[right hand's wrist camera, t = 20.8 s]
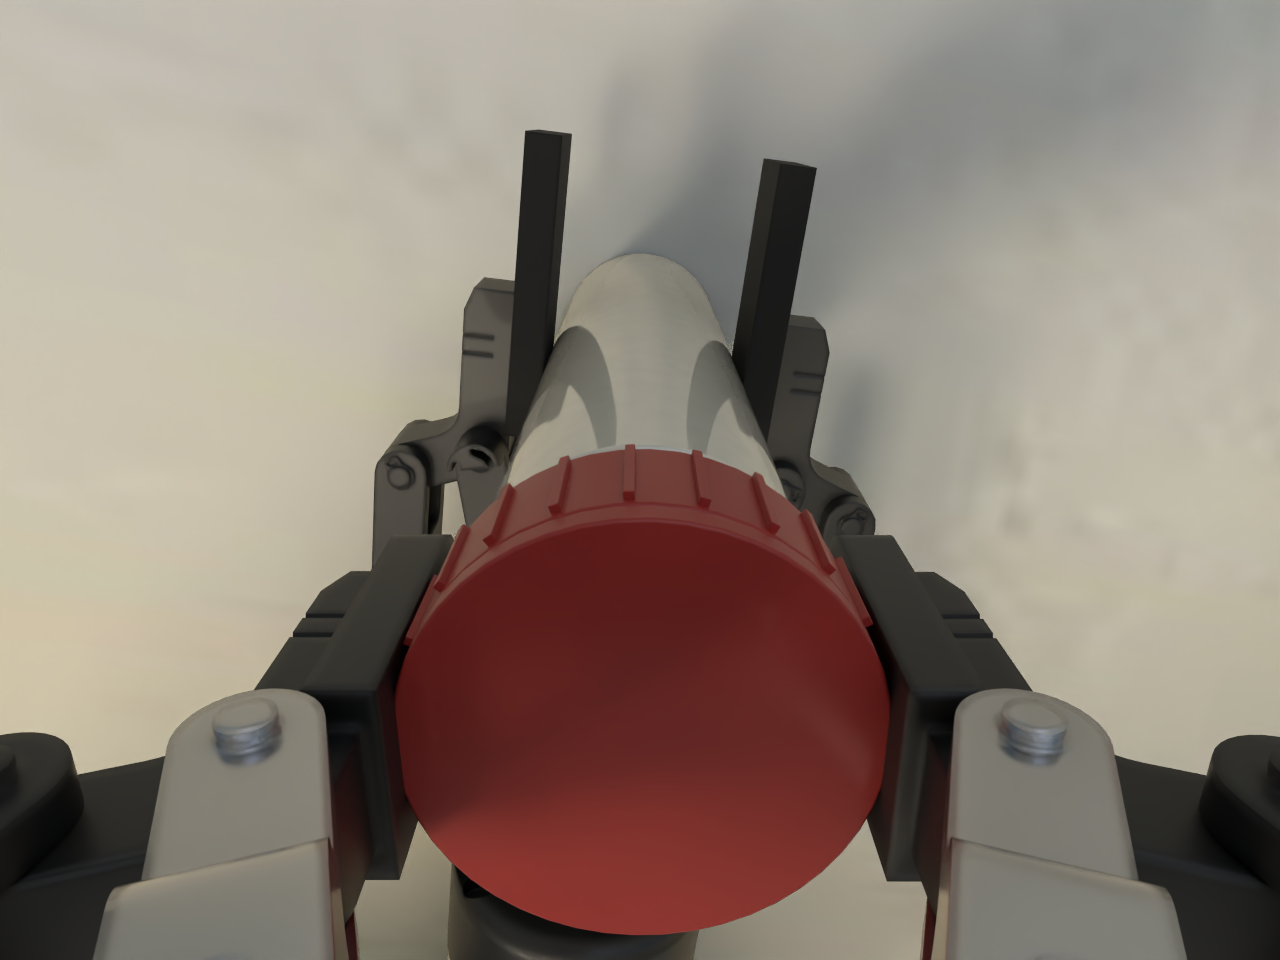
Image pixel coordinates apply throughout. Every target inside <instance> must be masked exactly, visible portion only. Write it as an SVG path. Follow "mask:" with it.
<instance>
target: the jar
mask: <svg viewBox="0 0 1280 960" xmlns="http://www.w3.org/2000/svg"><path fill="white" fill-rule="evenodd" d="M627 444H635V449H656V450H666V451H677V452H683V453H687V454H692V450H693V449H694V450H698V451H702V454H703V457H705V458H709V459H712V460H715V461H718V462H720V463H723V464H726V465H729V466H731V467H734V468H737V469H739V470H741V471H742V472H744V473H746V474H748V475H750V476H752V475H753V474H754V472H757V473H759V474H761V475H762V476H763V477H764V480H765V483H766V485H768V486H769V487H770V488H772V489H773V490H775V491H776V492H778V493H779V494H780V495H782V496H783V497H785V498H786V499H787V500H788V501H789V499H788V496H787V494H786V491H785V489H784V486H783V484H782V481H781V479H780V476H779V474H778V471H777V469H776V466H775V464H774V461H773V459H772V456H771V454H770V451H769V449H768V446H767V444H766V441H765V439H764V436H763V434H762V431H761V429H760V426H759V424H758V421H757V419H756V416H755V414H754V411H753V409H752V406H751V404H750V401H749V399H748V396H747V394H746V391H745V389H744V386H743V384H742V381H741V379H740V376H739V374H738V371H737V369H736V366H735V364H734V361H733V359H732V356H731V354H730V351H729V349H728V346H727V344H726V341H725V339H724V336H723V334H722V331H721V329H720V326H719V324H718V322H717V319H716V317H715V314H714V312H713V309H712V307H711V304H710V302H709V299H708V297H707V295H706V293H705V291H704V289H703V288H702V286H701V285H700V283H699V282H698V281H697V280H696V278H695V277H694V276H693V275H692V274H691V273H690V272H688V271H687V270H686V269H685V268H683V267H682V266H680V265H679V264H677V263H675V262H673V261H671V260H669V259H667V258H664V257H661V256H657V255H652V254H629V255H624V256H620V257H617V258H614V259H611V260H609V261H607V262H605V263H603V264H602V265H600V266H599V267H597V268H596V269H594V270H593V271H592V272H591V273H590V274H589V275H588V276H587V277H586V278H585V279H584V280H583V282H582V283H581V284H580V286H579V287H578V289H577V290H576V292H575V294H574V296H573V298H572V301H571V303H570V306H569V308H568V311H567V313H566V316H565V318H564V321H563V324H562V326H561V329H560V331H559V334H558V336H557V339H556V342H555V344H554V347H553V349H552V352H551V354H550V357H549V359H548V362H547V365H546V367H545V370H544V372H543V375H542V377H541V380H540V382H539V385H538V388H537V390H536V393H535V395H534V398H533V400H532V403H531V406H530V408H529V411H528V413H527V416H526V418H525V421H524V423H523V426H522V429H521V431H520V434H519V436H518V439H517V441H516V444H515V447H514V449H513V452H512V454H511V457H510V459H509V462H508V464H507V467H506V470H505V472H504V475H503V477H502V480H501V482H500V485H499V487H498V490H497V493H496V495H495V498H494V500H493V502H495V501H496V500H497V499H498V498H499V495H500V492H501V490H502V488H503V487H504V486H505V485H507V484H508V483H510V484H511V485H512V486H513V487H514V486H516V485H518V484H519V483H521V482H523V481H524V480H526V479H528V478H529V477H531V476H533V475H534V474H536V473H539V472H541V471H543V470H546V469H548V468H550V467H553V466H555V465H557V464H558V463H559V459H560V458H561V457H564V456H567V455H569V457H570V460H572V459H576V458H579V457H583V456H586V455H590V454H596V453H603V452H609V451H615V450H625V445H627ZM789 502H790V501H789Z"/></svg>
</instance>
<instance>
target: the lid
mask: <svg viewBox="0 0 1280 960" xmlns="http://www.w3.org/2000/svg"><path fill="white" fill-rule="evenodd" d="M870 625H873V622H872V620H871V618H870V616H869V614H868V612H867V609H866V607H865V605H864V603H863V601H862V599H861V597H860V595H859V592H858V590H857V588H856V586H855V584H854V582H853V580H852V577H851V575H850V573H849V571H848V569H847V567H846V565H845V563H844V561H843V558H842V557H839V558H836V559H835V558H834V557H833V555H832V553H831V552H830V550H829V548H828V547H827V545H826V543H825V542H824V540H823V538H822V536H821V534H820V532H819V529H818V527H817V525H816V523H815V520H814V518H813V516H812V514H811V513H810V512H809V511H808V510H807V509H805V510H804V511H803V512H800V511H799V510H798V509H797V508H796V507H794V506H793V505H792V504H791V503H790V502H789V501H788V500H787V499H786V498H785V497H783V496H782V495H780V494H779V493H778V492H776V491H775V490H773V489H772V488H770V487H769V486H768V485H766V483H765V480H764V477H763V476H762V475H761V474H759V473H757V472H754V474H753V475H752V476H750V475H748V474H746V473H744V472H742V471H741V470H739V469H737V468H734V467H731V466H729V465H726V464H723V463H720V462H718V461H715V460H712V459H709V458H705V457H703V454H702V451H698V450H694V449H693V450H692V454H687V453H683V452H677V451H666V450H656V449H635V444H627V445H625V450H615V451H609V452H603V453H596V454H590V455H586V456H583V457H579V458H576V459H572V460H570V457H569V455H567V456H564V457H561V458H560V459H559V463H558V464H557V465H555V466H553V467H550V468H548V469H546V470H543V471H541V472H539V473H536V474H534V475H533V476H531V477H529V478H528V479H526V480H524V481H523V482H521V483H519V484H518V485H516V486H514V487H513V486H512V485H511V484H510V483H508V484H507V485H505V486H504V487H503V488H502V490H501V492H500V495H499V498H498V499H497V500H496V501H495V502H493V503H492V504H491V505H490V506H489V507H488V508H487V509H486V510H485V511H484V512H483V513H482V514H481V515H480V516H479V517H478V518H477V519H476V520H475V521H474V522H473V523H472V524H471V526H470V527H467V526H466V525H464V524H463V525H462V526H461V528H460V529H459V530H458V532H457V535H456V537H455V539H454V541H453V544H452V546H451V548H450V550H449V553H448V555H447V557H446V559H445V561H444V564H443V566H442V568H441V570H440V573H439V575H434V576H433V578H432V580H431V582H430V584H429V587H428V589H427V591H426V593H425V595H424V597H423V600H422V602H421V604H420V606H419V608H418V611H417V613H416V615H415V617H414V619H413V621H412V624H411V626H410V628H409V630H408V632H407V634H406V637H405V640H404V642H403V644H404V645H406V646H409V650H408V652H407V654H406V656H405V659H404V662H403V665H402V668H401V671H400V674H399V677H398V680H397V683H396V689H395V711H396V720H397V729H398V738H399V746H400V755H401V764H402V772H403V781H404V788H405V795H406V797H407V799H408V801H409V803H410V805H411V808H412V810H413V812H414V814H415V816H416V818H417V819H418V821H419V822H420V824H421V825H422V827H423V828H424V830H425V831H426V833H427V834H428V836H429V837H430V838H431V840H432V841H433V842H434V843H435V845H436V846H437V847H438V848H439V849H440V850H441V851H442V852H443V854H444V855H445V856H446V857H447V858H448V859H449V860H450V861H451V862H452V863H453V864H454V865H455V866H456V867H457V868H459V869H460V870H461V871H462V872H463V873H464V874H465V875H467V876H468V877H469V878H470V879H471V880H473V881H474V882H476V883H477V884H478V885H480V886H481V887H483V888H484V889H486V890H487V891H489V892H490V893H492V894H493V895H495V896H496V897H498V898H500V899H502V900H504V901H506V902H508V903H510V904H511V905H513V906H515V907H517V908H519V909H521V910H524V911H526V912H529V913H531V914H534V915H536V916H539V917H541V918H544V919H546V920H549V921H553V922H556V923H560V924H563V925H567V926H571V927H574V928H579V929H585V930H590V931H596V932H602V933H611V934H624V935H664V934H672V933H680V932H688V931H695V930H699V929H704V928H708V927H713V926H717V925H721V924H725V923H728V922H731V921H733V920H736V919H739V918H742V917H745V916H748V915H751V914H753V913H755V912H757V911H760V910H762V909H764V908H766V907H768V906H770V905H773V904H775V903H777V902H778V901H780V900H782V899H783V898H785V897H787V896H788V895H790V894H792V893H793V892H795V891H797V890H798V889H800V888H801V887H803V886H804V885H805V884H807V883H808V882H809V881H811V880H812V879H813V878H814V877H816V876H817V875H818V874H820V873H821V872H822V871H823V870H824V869H825V868H826V867H827V866H829V865H830V864H831V863H832V862H833V861H834V860H835V859H836V858H837V857H838V856H839V855H840V854H841V853H842V852H843V851H844V849H845V848H846V847H847V845H848V844H849V843H850V842H851V840H852V839H853V838H854V837H855V835H856V834H857V833H858V831H859V830H860V829H861V827H862V825H863V823H864V822H865V820H866V818H867V817H868V815H869V813H870V812H871V810H872V808H873V806H874V804H875V802H876V799H877V797H878V794H879V792H880V789H881V784H882V777H883V770H884V761H885V753H886V744H887V736H888V727H889V718H890V707H891V697H890V693H889V689H888V685H887V680H886V676H885V672H884V669H883V667H882V664H881V662H880V660H879V657H878V655H877V652H876V650H875V647H874V645H873V643H872V641H871V638H870V636H869V634H868V632H867V630H866V627H868V626H870Z"/></svg>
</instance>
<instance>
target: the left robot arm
mask: <svg viewBox="0 0 1280 960" xmlns="http://www.w3.org/2000/svg"><path fill="white" fill-rule="evenodd" d="M571 138H572V134H569V133H561V132H553V131H545V130H529V131H525V143H524V157H523V172H522V186H521V201H520V215H519V229H518V244H517V258H516V273H515V281H510V280H502V279H494V278H486V277H484V278H483V279H482V280H481V281H480V282H479V283H478V284H477V285H476V286H475V287H474V289H473V291H472V293H471V295H470V298H469V300H468V302H467V304H466V306H465V308H464V322H463V342H462V362H461V382H460V402H459V412H458V413H457V414H456V415H454V416H451V417H448V418H445V419H441V420H436V421H432V422H431V421H427V420H415V421H413V422H411V423H409V424H407V425H406V427H405V428H404V429H403V430H402V431H401V432H400V434H399V435H398V436H397V437H396V439H395V440H394V441H393V443H392V444H391V445H390V447H389V448H388V449H387V450H386V452H385V453H384V455H383V456H382V457H381V459H380V460H379V461H378V463H377V465H376V469H375V481H374V516H373V551H372V568H373V566H374V565H375V563H376V561H377V560H378V558H379V556H380V555H381V553H382V551H383V550H384V548H385V546H386V545H387V543H388V541H389V540H390V538H391V537H392V536H393V535H442V518H443V501H444V484H446V483H450V482H455V481H458V486H459V492H460V497H461V502H462V507H463V512H464V517H465V522H466V526H467V527H470V526H471V524H472V523H473V522H474V521H475V520H476V519H477V518H478V517H479V516H480V515H481V514H482V513H483V512H484V511H485V510H486V509H487V508H488V507H489V506H490V505H491V504H492V503H493V500H494V498H495V495H496V493H497V490H498V487H499V485H500V482H501V480H502V477H503V475H504V472H505V470H506V467H507V464H508V462H509V459H510V457H511V454H512V452H513V449H514V447H515V444H516V441H517V439H518V436H519V434H520V431H521V429H522V426H523V423H524V421H525V418H526V416H527V413H528V411H529V408H530V406H531V403H532V400H533V398H534V395H535V393H536V390H537V388H538V385H539V382H540V380H541V377H542V375H543V372H544V370H545V367H546V365H547V362H548V359H549V357H550V354H551V352H552V349H553V345H554V334H555V322H556V311H557V299H558V288H559V276H560V265H561V253H562V242H563V230H564V219H565V207H566V196H567V184H568V173H569V161H570V150H571ZM816 170H817V168H815V167H811V166H807V165H803V164H799V163H795V162H787V161H779V160H772V159H764V160H763V166H762V173H761V179H760V185H759V191H758V198H757V204H756V210H755V216H754V222H753V229H752V235H751V241H750V247H749V253H748V260H747V266H746V272H745V278H744V285H743V291H742V297H741V303H740V309H739V316H738V322H737V328H736V334H735V340H734V347H733V353H732V359H733V361H734V364H735V366H736V369H737V371H738V374H739V376H740V379H741V381H742V384H743V386H744V389H745V391H746V394H747V396H748V399H749V401H750V404H751V406H752V409H753V411H754V414H755V416H756V419H757V421H758V424H759V426H760V429H761V431H762V434H763V436H764V439H765V441H766V444H767V446H768V449H769V451H770V454H771V456H772V459H773V461H774V464H775V466H776V469H777V471H778V474H779V476H780V479H781V481H782V484H783V486H784V489H785V491H786V494H787V496H788V499H789V501H790V503H791V504H792V505H793V506H794V507H796V508H797V509H798V510H799V511H800V512H803V511H804V510H805V509H807V510H808V511H809V512H810V513H811V514H812V516H813V518H814V520H815V523H816V525H817V527H818V529H819V532H820V534H821V536H822V538H823V540H824V542H825V543H826V545H827V547H828V548H829V546H830V542H831V539H832V537H833V536H834V535H874V532H875V518H874V515H873V513H872V511H871V510H870V508H869V506H868V504H867V503H866V501H865V499H864V498H863V496H862V494H861V492H860V491H859V489H858V487H857V486H856V484H855V483H854V481H853V479H852V478H851V476H850V475H849V474H848V473H847V472H846V471H845V470H844V469H841V468H837V467H828V466H826V465H824V464H822V463H819V462H817V461H815V460H814V459H812V458H811V457H810V448H811V443H812V438H813V433H814V428H815V423H816V418H817V413H818V408H819V403H820V398H821V393H822V388H823V383H824V376H825V373H826V368H827V363H828V358H829V347H828V342H827V337H826V332H825V329H824V328H823V327H822V326H821V325H820V324H819V323H818V321H817V320H816V319H815V318H814V317H806V316H797V315H790V313H791V308H792V302H793V297H794V291H795V285H796V280H797V274H798V269H799V263H800V258H801V252H802V247H803V241H804V236H805V230H806V225H807V219H808V214H809V208H810V203H811V197H812V192H813V186H814V181H815V175H816ZM698 931H699V930H695V931H688V932H680V933H672V934H664V935H624V934H611V933H602V932H596V931H590V930H585V929H579V928H574V927H571V926H567V925H563V924H560V923H556V922H553V921H549V920H546V919H544V918H541V917H539V916H536V915H534V914H531V913H529V912H526V911H524V910H521V909H519V908H517V907H515V906H513V905H511V904H510V903H508V902H506V901H504V900H502V899H500V898H498V897H496V896H495V895H493V894H492V893H490V892H489V891H487V890H486V889H484V888H483V887H481V886H480V885H478V884H477V883H476V882H474V881H473V880H471V879H470V878H469V877H468V876H467V875H465V874H464V873H463V872H462V871H461V870H460V869H459V868H457V867H456V866H455V865H454V864H453V863H452V870H451V887H450V904H449V921H448V956H447V960H693V957H694V952H695V947H696V942H697V937H698Z"/></svg>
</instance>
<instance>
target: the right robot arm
mask: <svg viewBox="0 0 1280 960" xmlns="http://www.w3.org/2000/svg"><path fill="white" fill-rule="evenodd" d="M453 541H454V539H453V537H452V536H451V535H393V536H392V537H391V538H390V540H389V541H388V543H387V545H386V546H385V548H384V550H383V551H382V553H381V555H380V556H379V558H378V560H377V561H376V563H375V565H374V566H373V568H372V570H371V571H350V572H349V573H347V574H346V575H344V576H343V577H341V578H340V579H338V580H337V581H335V582H334V583H332V584H331V585H329V586H328V587H326V588H325V589H323V590H322V591H321V592H320V593H319V595H318V596H317V598H316V599H315V601H314V602H313V604H312V605H311V607H310V608H309V610H308V611H307V613H306V618H302V620H301V621H300V623H299V624H298V626H297V627H296V629H295V630H294V632H293V637H290V638H289V639H288V641H287V642H286V644H285V645H284V646H283V648H282V649H281V651H280V652H279V654H278V655H277V657H276V658H275V660H274V661H273V663H272V664H271V666H270V667H269V669H268V670H267V672H266V673H265V674H264V676H263V677H262V679H261V680H260V682H259V683H258V685H257V686H256V688H255V689H254V690H253V691H248V692H243V693H239V694H235V695H232V696H229V697H226V698H223V699H221V700H218V701H216V702H214V703H211V704H210V705H208V706H206V707H204V708H202V709H200V710H199V711H197V712H196V713H194V714H192V715H191V716H190V717H189V718H187V719H186V720H185V721H184V722H182V723H181V725H180V726H179V727H178V728H177V729H176V730H175V731H174V733H173V734H172V736H171V738H170V740H169V743H168V745H167V750H166V755H165V756H163V757H160V758H156V759H152V760H148V761H144V762H139V763H134V764H129V765H124V766H119V767H114V768H109V769H104V770H99V771H94V772H89V773H84V774H79V775H77V772H76V768H75V764H74V761H73V757H72V753H71V751H70V748H69V746H68V745H67V744H66V743H65V742H64V741H63V740H61V739H59V738H58V737H56V736H52V735H49V734H44V733H35V732H26V733H12V734H5V735H0V960H360V952H359V941H358V930H357V923H356V917H355V910H354V909H355V906H356V904H357V901H358V898H359V895H360V893H361V890H362V887H363V884H364V882H365V880H399V879H400V876H401V873H402V870H403V867H404V863H405V860H406V857H407V854H408V851H409V848H410V844H411V841H412V838H413V835H414V832H415V829H416V826H417V822H418V819H417V818H416V816H415V814H414V812H413V810H412V808H411V805H410V803H409V801H408V799H407V797H406V795H405V788H404V781H403V772H402V764H401V755H400V746H399V738H398V729H397V720H396V711H395V689H396V683H397V680H398V677H399V674H400V671H401V668H402V665H403V662H404V659H405V656H406V654H407V652H408V650H409V646H406V645H404V644H403V642H404V640H405V637H406V634H407V632H408V630H409V628H410V626H411V624H412V621H413V619H414V617H415V615H416V613H417V611H418V608H419V606H420V604H421V602H422V600H423V597H424V595H425V593H426V591H427V589H428V587H429V584H430V582H431V580H432V578H433V576H434V575H439V573H440V570H441V568H442V566H443V564H444V561H445V559H446V557H447V555H448V553H449V550H450V548H451V546H452V544H453ZM829 550H830V552H831V553H832V555H833V557H834V558H835V559H836V558H839V557H842V558H843V561H844V563H845V565H846V567H847V569H848V571H849V573H850V575H851V577H852V580H853V582H854V584H855V586H856V588H857V590H858V592H859V595H860V597H861V599H862V601H863V603H864V605H865V607H866V609H867V612H868V614H869V616H870V618H871V620H872V622H873V625H870V626H868V627H866V630H867V632H868V634H869V636H870V638H871V641H872V643H873V645H874V647H875V650H876V652H877V655H878V657H879V660H880V662H881V664H882V667H883V669H884V672H885V676H886V680H887V685H888V689H889V693H890V697H891V707H890V718H889V727H888V736H887V744H886V753H885V761H884V770H883V777H882V784H881V789H880V792H879V794H878V797H877V799H876V802H875V804H874V806H873V808H872V810H871V812H870V813H869V815H868V817H867V821H868V824H869V827H870V831H871V834H872V837H873V840H874V843H875V846H876V849H877V852H878V855H879V858H880V861H881V865H882V868H883V871H884V874H885V877H886V880H887V881H922V884H923V887H924V889H925V892H926V895H927V903H926V910H925V917H924V923H923V930H922V941H921V952H920V960H1280V737H1276V736H1267V735H1244V736H1237V737H1233V738H1229V739H1227V740H1225V741H1223V742H1221V743H1220V744H1219V745H1218V746H1217V747H1216V748H1215V750H1214V752H1213V754H1212V758H1211V761H1210V765H1209V768H1208V772H1207V776H1206V775H1201V774H1196V773H1191V772H1186V771H1181V770H1176V769H1171V768H1167V767H1162V766H1157V765H1152V764H1147V763H1142V762H1138V761H1134V760H1129V759H1126V758H1123V757H1120V756H1116V755H1114V750H1113V745H1112V742H1111V740H1110V738H1109V736H1108V734H1107V733H1106V731H1105V730H1104V729H1103V728H1102V727H1101V726H1100V725H1099V723H1098V722H1096V721H1095V720H1094V719H1093V718H1091V717H1090V716H1089V715H1088V714H1086V713H1084V712H1083V711H1081V710H1080V709H1078V708H1076V707H1074V706H1072V705H1070V704H1069V703H1066V702H1064V701H1062V700H1059V699H1057V698H1054V697H1051V696H1048V695H1045V694H1041V693H1037V692H1033V691H1032V689H1031V688H1030V687H1029V685H1028V684H1027V682H1026V681H1025V679H1024V678H1023V676H1022V675H1021V673H1020V672H1019V671H1018V669H1017V668H1016V666H1015V665H1014V663H1013V662H1012V660H1011V659H1010V658H1009V656H1008V655H1007V653H1006V652H1005V650H1004V649H1003V647H1002V646H1001V644H1000V643H999V642H998V640H997V639H996V638H993V633H992V631H991V630H990V628H989V627H988V626H987V624H986V623H985V621H984V620H983V619H980V614H979V612H978V611H977V610H976V608H975V607H974V605H973V604H972V602H971V601H970V599H969V598H968V596H967V595H966V594H965V592H964V591H962V590H961V589H959V588H958V587H956V586H955V585H953V584H952V583H950V582H949V581H947V580H946V579H944V578H943V577H941V576H940V575H938V574H937V573H935V572H915V571H914V570H913V568H912V566H911V565H910V563H909V562H908V560H907V558H906V557H905V555H904V553H903V552H902V550H901V548H900V547H899V545H898V543H897V542H896V540H895V539H894V537H893V536H891V535H834V536H833V537H832V539H831V542H830V546H829Z"/></svg>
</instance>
